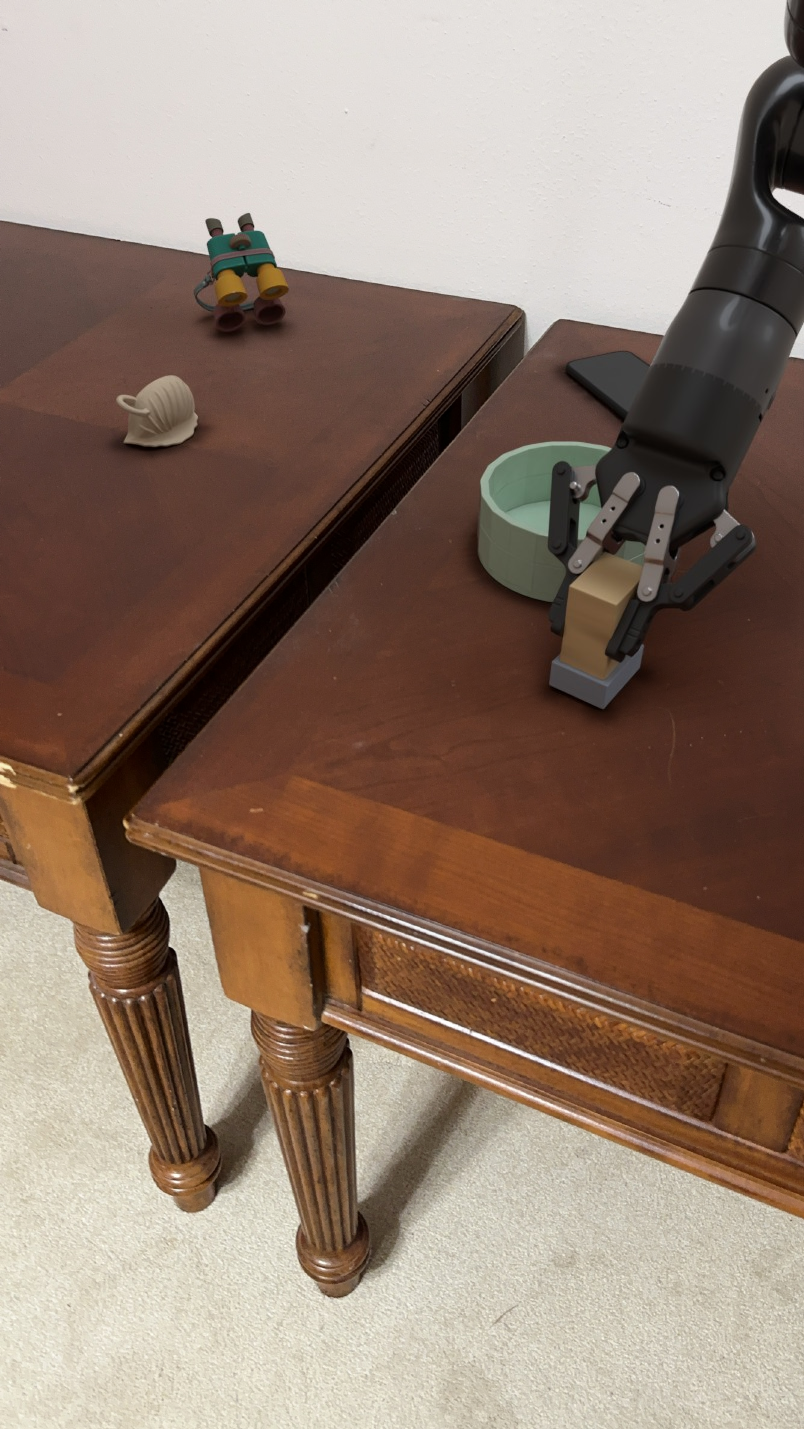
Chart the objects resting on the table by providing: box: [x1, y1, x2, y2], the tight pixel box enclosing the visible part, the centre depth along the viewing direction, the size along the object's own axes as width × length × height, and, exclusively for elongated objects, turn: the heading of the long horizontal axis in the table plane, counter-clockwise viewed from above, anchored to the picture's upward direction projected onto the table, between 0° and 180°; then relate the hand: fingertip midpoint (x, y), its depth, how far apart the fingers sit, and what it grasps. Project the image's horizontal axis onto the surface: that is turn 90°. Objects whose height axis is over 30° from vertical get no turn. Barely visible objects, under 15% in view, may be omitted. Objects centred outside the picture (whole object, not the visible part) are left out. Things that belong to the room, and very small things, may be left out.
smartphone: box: [565, 350, 651, 420], centre depth 100 cm, size 7×1×15 cm
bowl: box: [476, 441, 646, 603], centre depth 81 cm, size 13×13×6 cm
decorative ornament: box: [116, 374, 199, 448], centre depth 94 cm, size 4×8×5 cm, turn 140°
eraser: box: [548, 552, 645, 710], centre depth 69 cm, size 5×4×8 cm
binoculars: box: [193, 212, 290, 333], centre depth 110 cm, size 9×9×10 cm
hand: (586, 645), depth 68 cm, fingers closed on eraser, 3 cm apart
